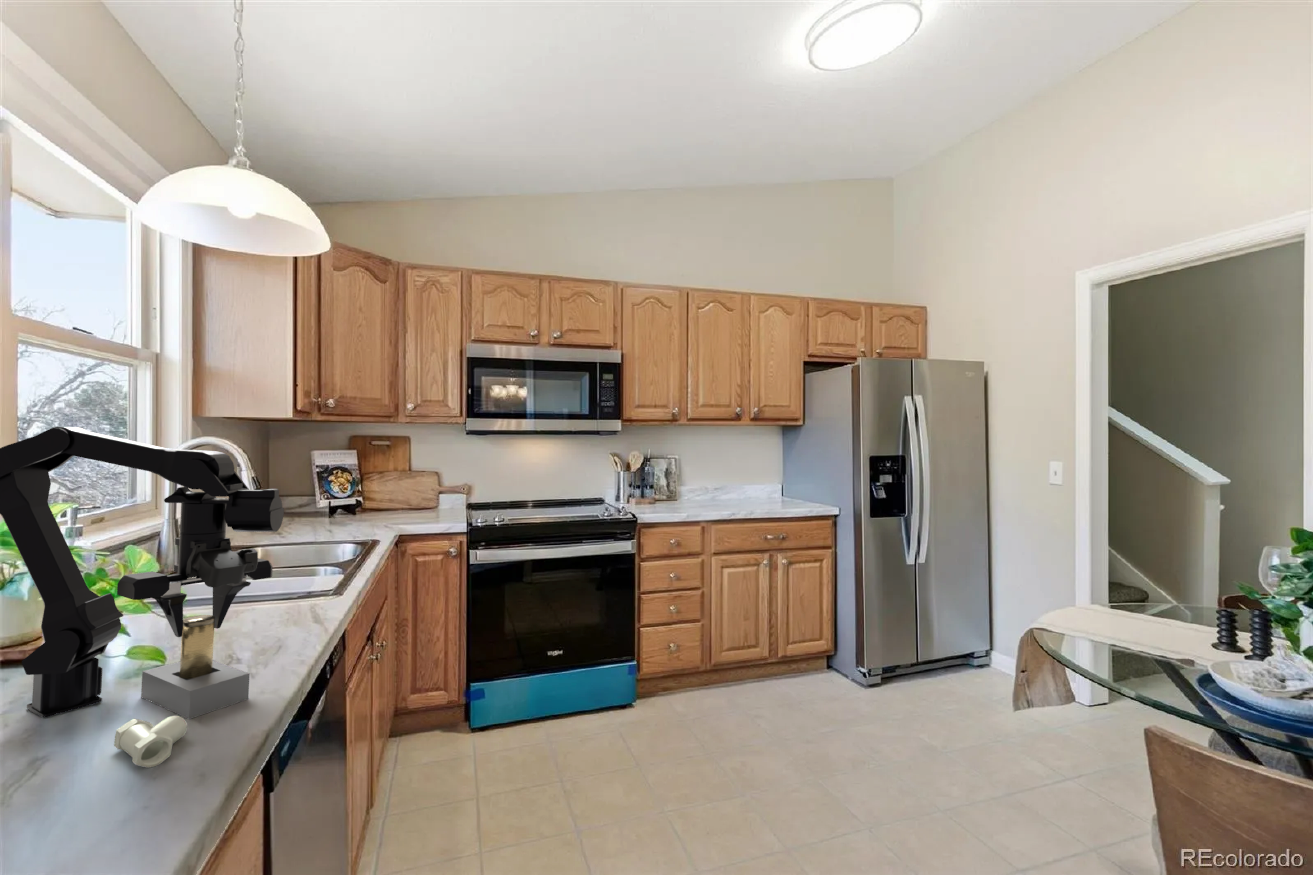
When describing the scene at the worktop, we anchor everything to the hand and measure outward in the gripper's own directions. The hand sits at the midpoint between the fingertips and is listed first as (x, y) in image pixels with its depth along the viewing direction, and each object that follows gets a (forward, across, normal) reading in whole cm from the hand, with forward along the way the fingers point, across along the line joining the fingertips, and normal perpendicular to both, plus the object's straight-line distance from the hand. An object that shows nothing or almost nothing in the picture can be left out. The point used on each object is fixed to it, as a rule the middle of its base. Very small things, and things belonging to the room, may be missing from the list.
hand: (198, 632), depth 92 cm
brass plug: (+7, 0, 0) cm, 7 cm away
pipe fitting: (+11, -10, -14) cm, 20 cm away
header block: (+10, 0, 0) cm, 10 cm away
